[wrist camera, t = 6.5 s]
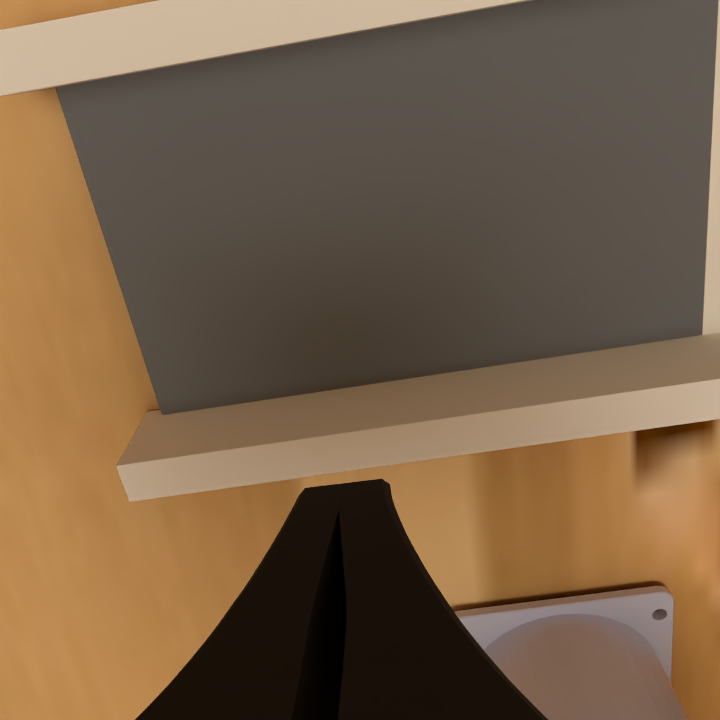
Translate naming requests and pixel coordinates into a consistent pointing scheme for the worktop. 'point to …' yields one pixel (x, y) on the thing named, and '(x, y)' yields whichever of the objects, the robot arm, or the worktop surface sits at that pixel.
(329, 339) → the lane
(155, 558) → the worktop surface
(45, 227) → the worktop surface
